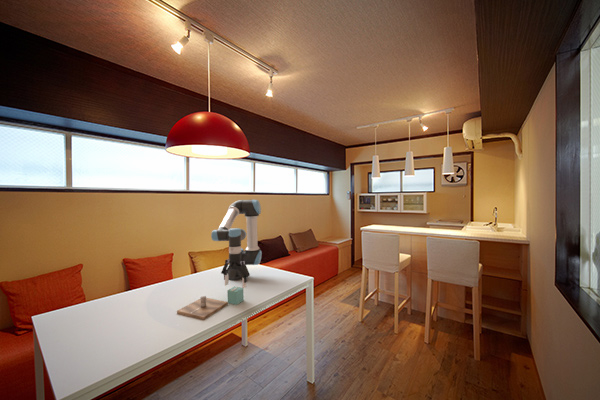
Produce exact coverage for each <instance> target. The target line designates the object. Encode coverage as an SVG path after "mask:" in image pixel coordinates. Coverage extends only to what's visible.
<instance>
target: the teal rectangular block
mask: <svg viewBox="0 0 600 400" xmlns="http://www.w3.org/2000/svg"><path fill="white" fill-rule="evenodd" d="M227 302H228V304H230V305H236V306H237V305H238V304H240V303H241V302H244V288H242V287H241V286H240V287H239V286H233V287H231V288H229V289H228V290H227Z"/></svg>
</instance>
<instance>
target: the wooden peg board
mask: <svg viewBox="0 0 600 400" xmlns="http://www.w3.org/2000/svg"><path fill="white" fill-rule="evenodd" d="M228 305H229V303H228V301H224V300H219V299H215V298H210V297H207V295H202V296H201V297H200V298H199V299H197V300H195V301H193V302H191V303H189V304H187V305H185V306H183V307H182V308H179V309H178V310H176V314H179V315H182V316H186V317H191V318H195V319H199V320H206V319H207V318H209V317H211V316H212V315H214V314H216V313H218V312H219V311H221V310H222V309H223V308H225V307H226V306H228Z"/></svg>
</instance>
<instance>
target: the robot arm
mask: <svg viewBox="0 0 600 400" xmlns="http://www.w3.org/2000/svg"><path fill="white" fill-rule="evenodd" d="M261 213H262V207H261V203H260V201H259V200H258V199H238V200H236V201H233V202H232V203H231V204H230V205H229V206H228V208H227V210H226V213H225V216H224V217H223V219H222V222H221V223H220V224H219V227H218V228H217V229H213V230H212V231H211V235H210V237H211V240H212V241H213V242H228V252H229V253H228V259H225V260H224V261H225V262H224V266H223V267H222V270H221V272H220V274H221V275H223V280H224V287H225V286H226V287H227V286H228V285H229V282H230V281H239V280H242V285H241V286H242V287H241V288H243V289H245V288H246V287H247V282H248V277H250V275H251V274H250V272H249V270H248V267H247V266H256V265H257V266H258V265H259V264H260V263H261V260H262V254H263V253H262V250H261V248H260V247H259V246H258V243H259V242H258V241H259V239H258V218H259V216H260V214H261ZM240 214H241V215H244V217H245V219H246V230H245V229H244V228H239V227H233V228H232V226H233V224H234V222H235V220H236V218H237V217H238V216H239V215H240ZM245 238H246V248H244V249H245V250H244V249H243V248H242V241H243V240H245ZM229 280H230V281H229Z"/></svg>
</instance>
